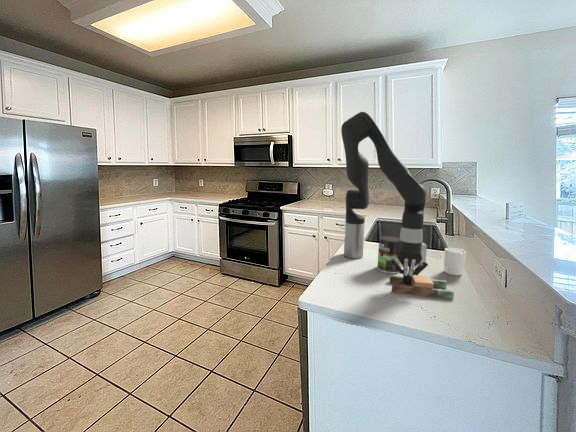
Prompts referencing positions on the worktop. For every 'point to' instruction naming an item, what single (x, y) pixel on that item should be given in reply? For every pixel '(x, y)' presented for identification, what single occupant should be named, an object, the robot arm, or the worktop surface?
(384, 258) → the coffee can
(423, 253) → the medicine box
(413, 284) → the terracotta block
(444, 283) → the walnut chute
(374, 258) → the worktop surface
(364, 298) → the worktop surface
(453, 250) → the white cup
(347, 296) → the worktop surface
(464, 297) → the worktop surface
